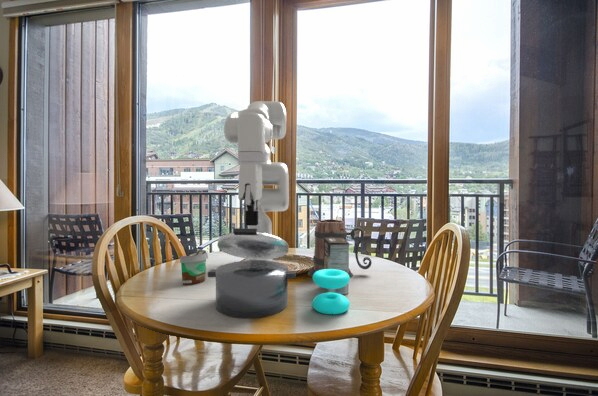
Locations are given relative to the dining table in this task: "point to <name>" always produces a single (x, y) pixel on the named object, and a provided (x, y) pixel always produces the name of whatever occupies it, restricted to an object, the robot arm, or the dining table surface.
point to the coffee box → (337, 258)
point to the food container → (194, 267)
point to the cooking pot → (251, 288)
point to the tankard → (333, 230)
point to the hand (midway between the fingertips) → (252, 224)
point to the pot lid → (252, 244)
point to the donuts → (331, 301)
